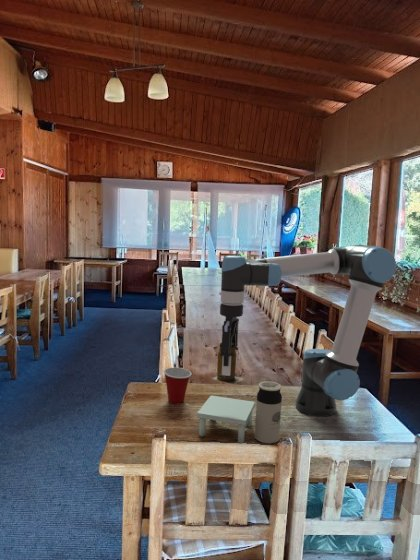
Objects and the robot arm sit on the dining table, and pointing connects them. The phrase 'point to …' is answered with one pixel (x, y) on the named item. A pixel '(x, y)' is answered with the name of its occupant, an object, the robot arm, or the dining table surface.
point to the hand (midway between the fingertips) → (228, 371)
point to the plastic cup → (176, 383)
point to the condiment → (232, 377)
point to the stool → (226, 413)
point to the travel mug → (268, 412)
